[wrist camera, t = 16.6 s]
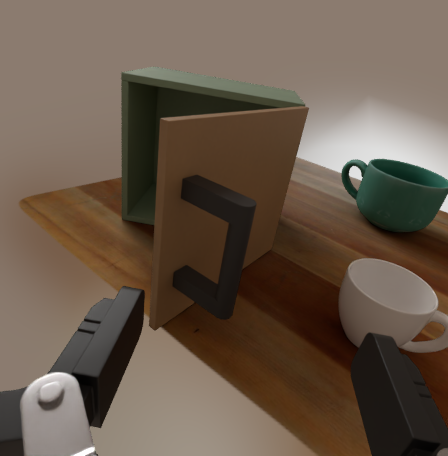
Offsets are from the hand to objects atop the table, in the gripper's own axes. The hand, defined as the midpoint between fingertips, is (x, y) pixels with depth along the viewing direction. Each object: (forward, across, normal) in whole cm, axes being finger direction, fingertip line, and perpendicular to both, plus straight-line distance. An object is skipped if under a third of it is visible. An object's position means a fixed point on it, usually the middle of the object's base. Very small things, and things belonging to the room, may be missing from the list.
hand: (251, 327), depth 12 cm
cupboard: (+36, -6, -14) cm, 40 cm away
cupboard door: (+19, +1, -14) cm, 24 cm away
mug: (+47, +24, -15) cm, 54 cm away
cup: (+16, +15, -15) cm, 26 cm away
